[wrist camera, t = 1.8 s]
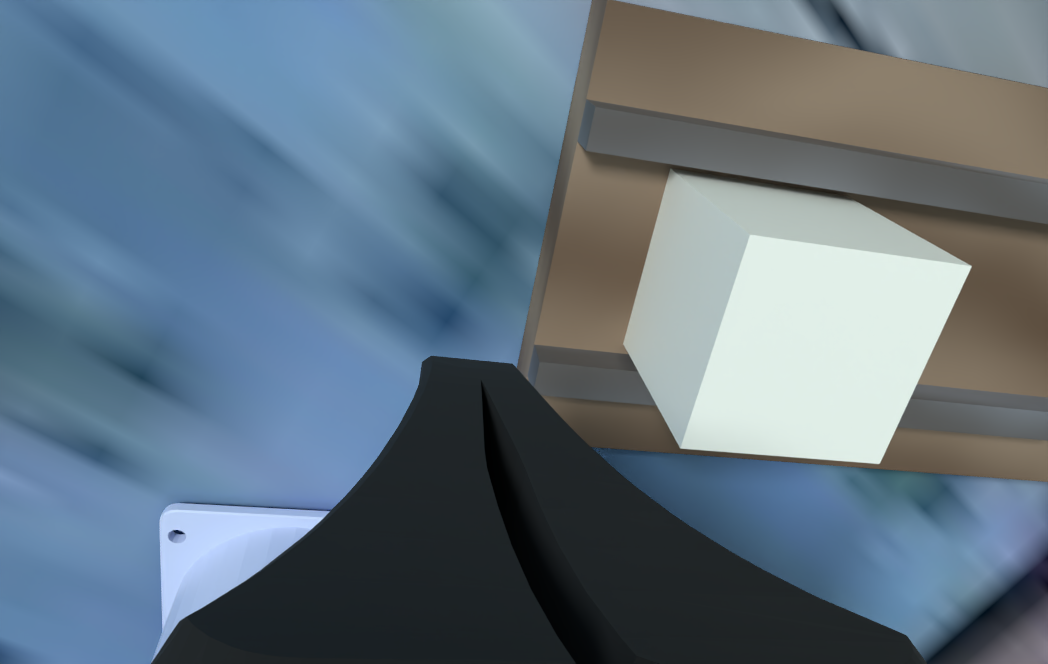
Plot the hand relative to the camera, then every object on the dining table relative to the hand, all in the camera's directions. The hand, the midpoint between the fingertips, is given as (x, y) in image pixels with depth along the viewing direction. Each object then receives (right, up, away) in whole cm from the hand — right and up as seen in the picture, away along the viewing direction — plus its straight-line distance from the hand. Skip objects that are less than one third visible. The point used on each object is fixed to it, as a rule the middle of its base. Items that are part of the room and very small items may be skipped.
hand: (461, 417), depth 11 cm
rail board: (+12, +3, +12) cm, 17 cm away
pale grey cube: (+7, +3, +9) cm, 12 cm away
